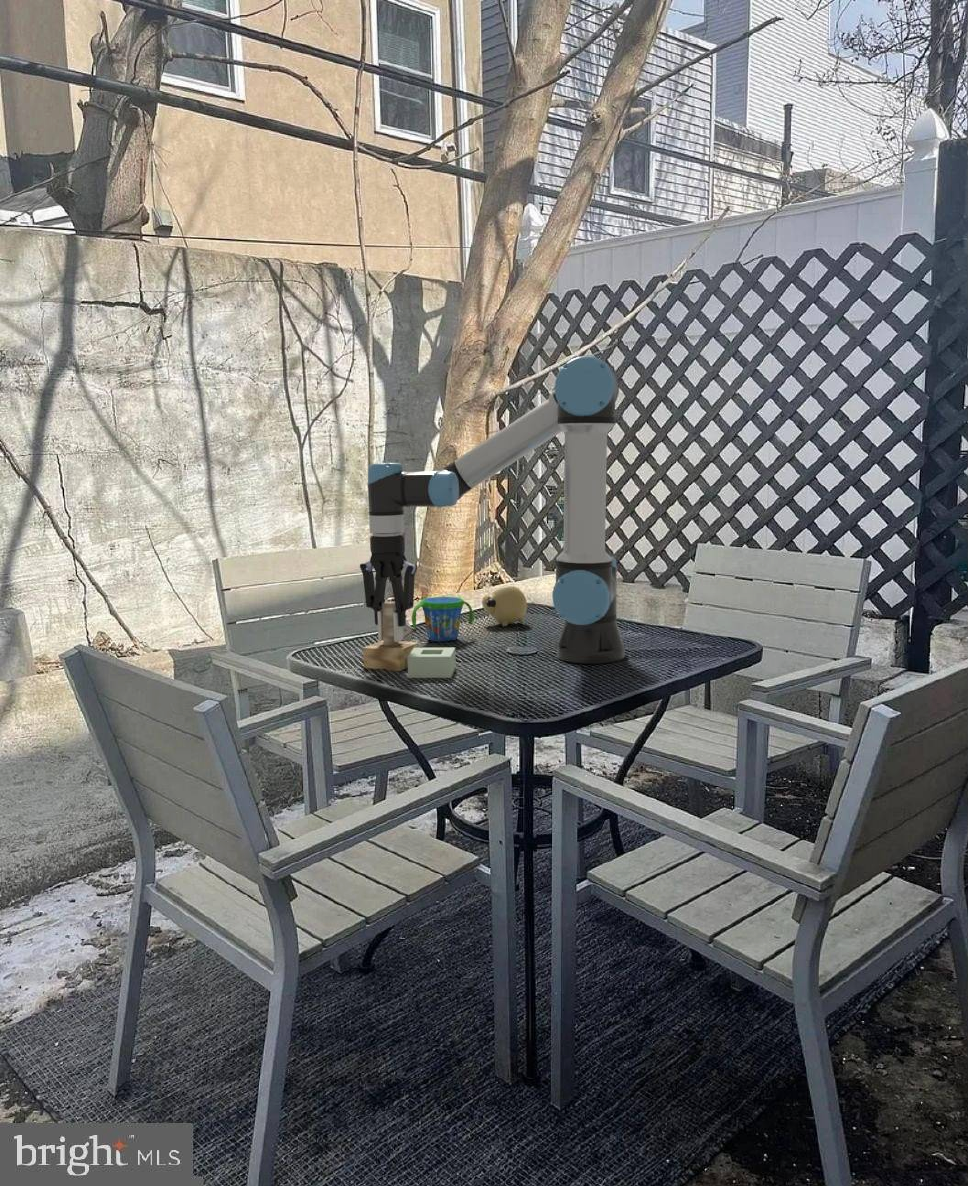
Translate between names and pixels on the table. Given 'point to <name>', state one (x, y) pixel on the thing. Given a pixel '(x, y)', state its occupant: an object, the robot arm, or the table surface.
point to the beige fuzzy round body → (506, 605)
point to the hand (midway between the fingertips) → (390, 639)
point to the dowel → (388, 624)
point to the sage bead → (431, 663)
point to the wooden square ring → (388, 655)
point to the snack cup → (442, 617)
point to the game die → (407, 632)
